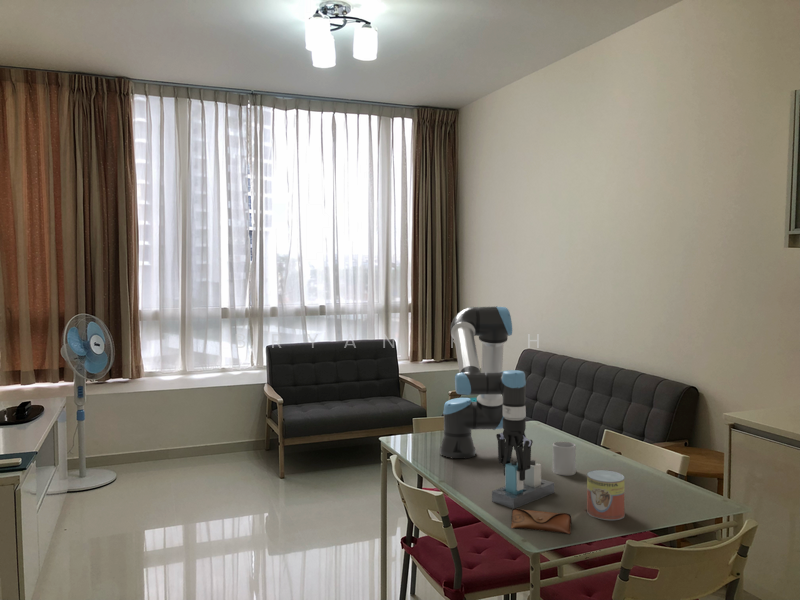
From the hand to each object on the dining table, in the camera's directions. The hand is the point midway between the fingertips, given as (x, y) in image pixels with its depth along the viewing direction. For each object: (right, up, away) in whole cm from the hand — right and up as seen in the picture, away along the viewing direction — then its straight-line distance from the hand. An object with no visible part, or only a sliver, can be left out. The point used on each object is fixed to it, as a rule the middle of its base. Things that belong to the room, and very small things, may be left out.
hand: (514, 487), depth 197 cm
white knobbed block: (+8, -4, +7) cm, 11 cm away
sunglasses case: (+4, -6, -19) cm, 20 cm away
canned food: (+27, -5, -10) cm, 29 cm away
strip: (+4, -5, +3) cm, 7 cm away
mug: (+24, -4, +32) cm, 40 cm away
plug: (0, -2, 0) cm, 2 cm away
